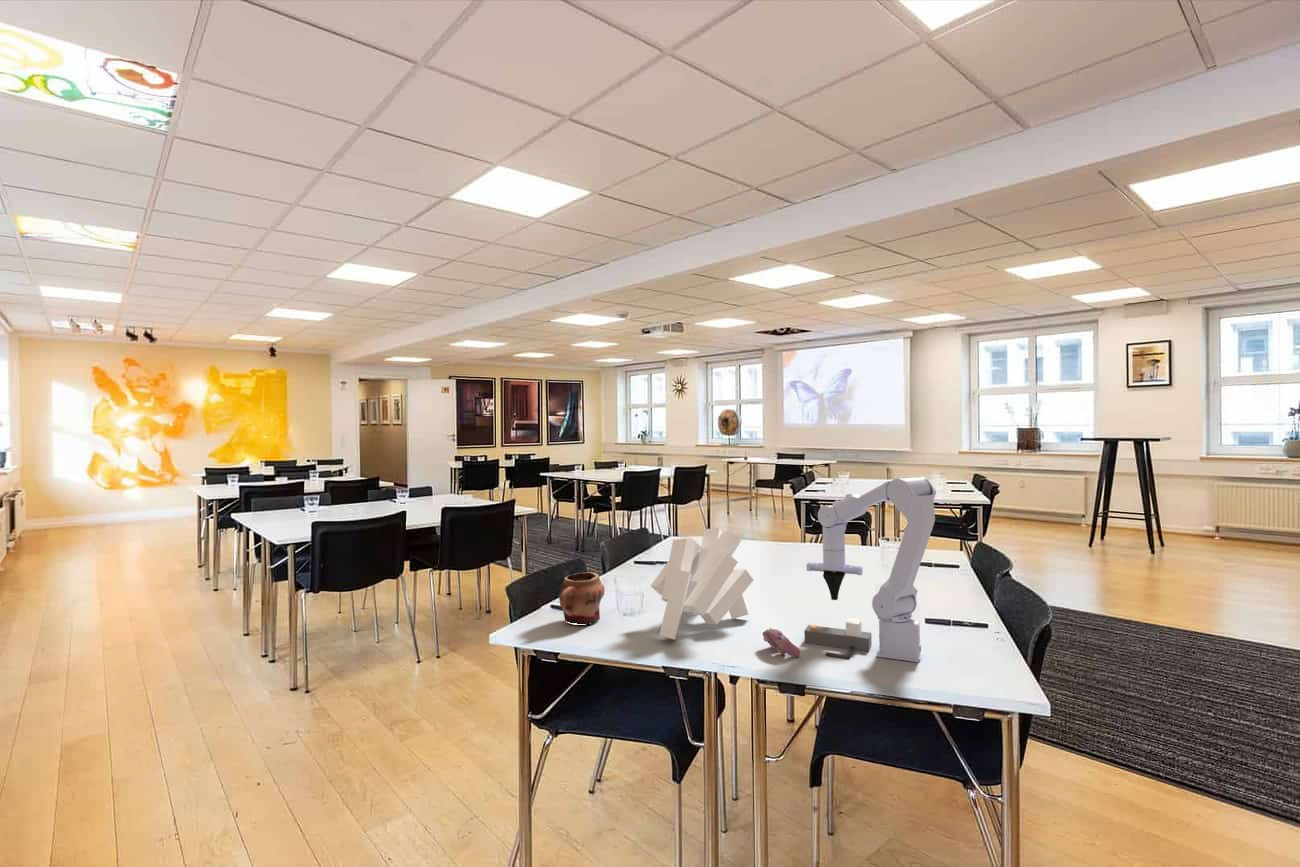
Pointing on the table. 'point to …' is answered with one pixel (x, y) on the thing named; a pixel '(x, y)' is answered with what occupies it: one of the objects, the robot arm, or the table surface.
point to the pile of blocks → (702, 581)
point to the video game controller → (780, 642)
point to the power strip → (840, 637)
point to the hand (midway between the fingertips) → (834, 599)
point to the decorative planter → (581, 597)
